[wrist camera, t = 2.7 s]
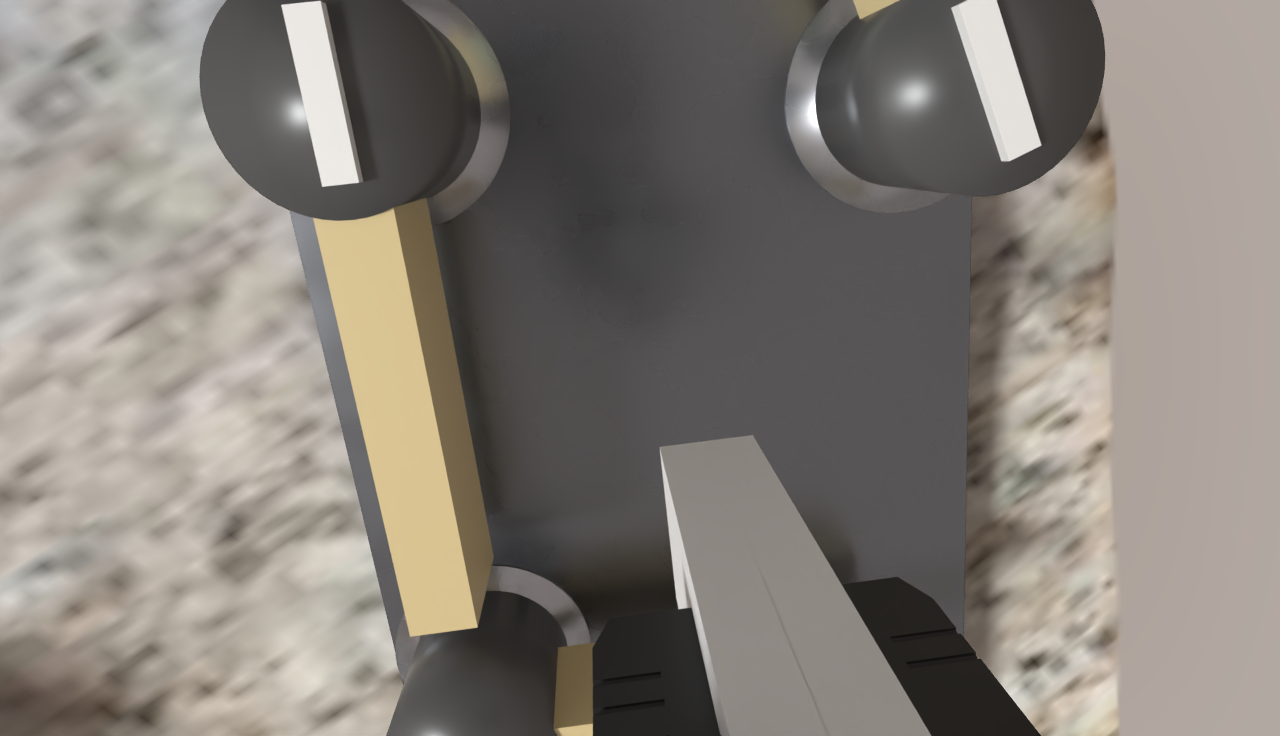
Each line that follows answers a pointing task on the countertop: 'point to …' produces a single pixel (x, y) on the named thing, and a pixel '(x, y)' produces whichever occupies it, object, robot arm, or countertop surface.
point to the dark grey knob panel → (680, 303)
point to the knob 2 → (498, 677)
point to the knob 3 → (960, 91)
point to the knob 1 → (372, 246)
